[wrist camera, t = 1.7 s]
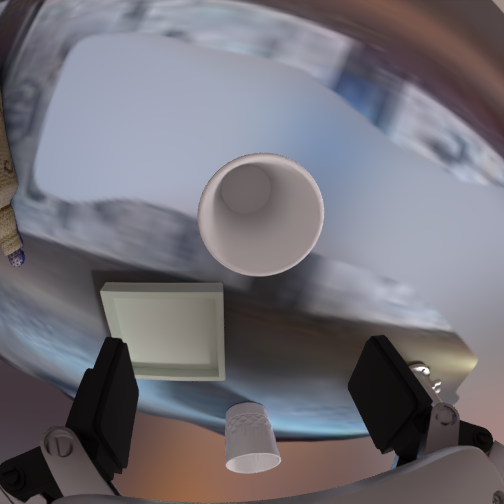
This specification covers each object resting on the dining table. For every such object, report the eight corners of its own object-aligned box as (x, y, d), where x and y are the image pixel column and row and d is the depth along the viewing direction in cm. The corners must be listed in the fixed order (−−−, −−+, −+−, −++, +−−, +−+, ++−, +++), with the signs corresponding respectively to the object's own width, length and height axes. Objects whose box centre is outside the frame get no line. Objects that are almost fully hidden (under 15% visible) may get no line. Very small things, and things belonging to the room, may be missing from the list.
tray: (222, 282, 31) (223, 292, 29) (224, 369, 36) (225, 380, 34) (106, 282, 29) (100, 291, 27) (128, 367, 34) (125, 377, 32)
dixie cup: (201, 151, 25) (191, 158, 15) (284, 147, 26) (325, 152, 16) (208, 230, 28) (204, 282, 18) (286, 224, 29) (322, 271, 19)
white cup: (256, 427, 43) (264, 474, 33) (214, 420, 41) (217, 470, 31) (278, 403, 40) (291, 454, 31) (233, 395, 38) (239, 450, 29)
